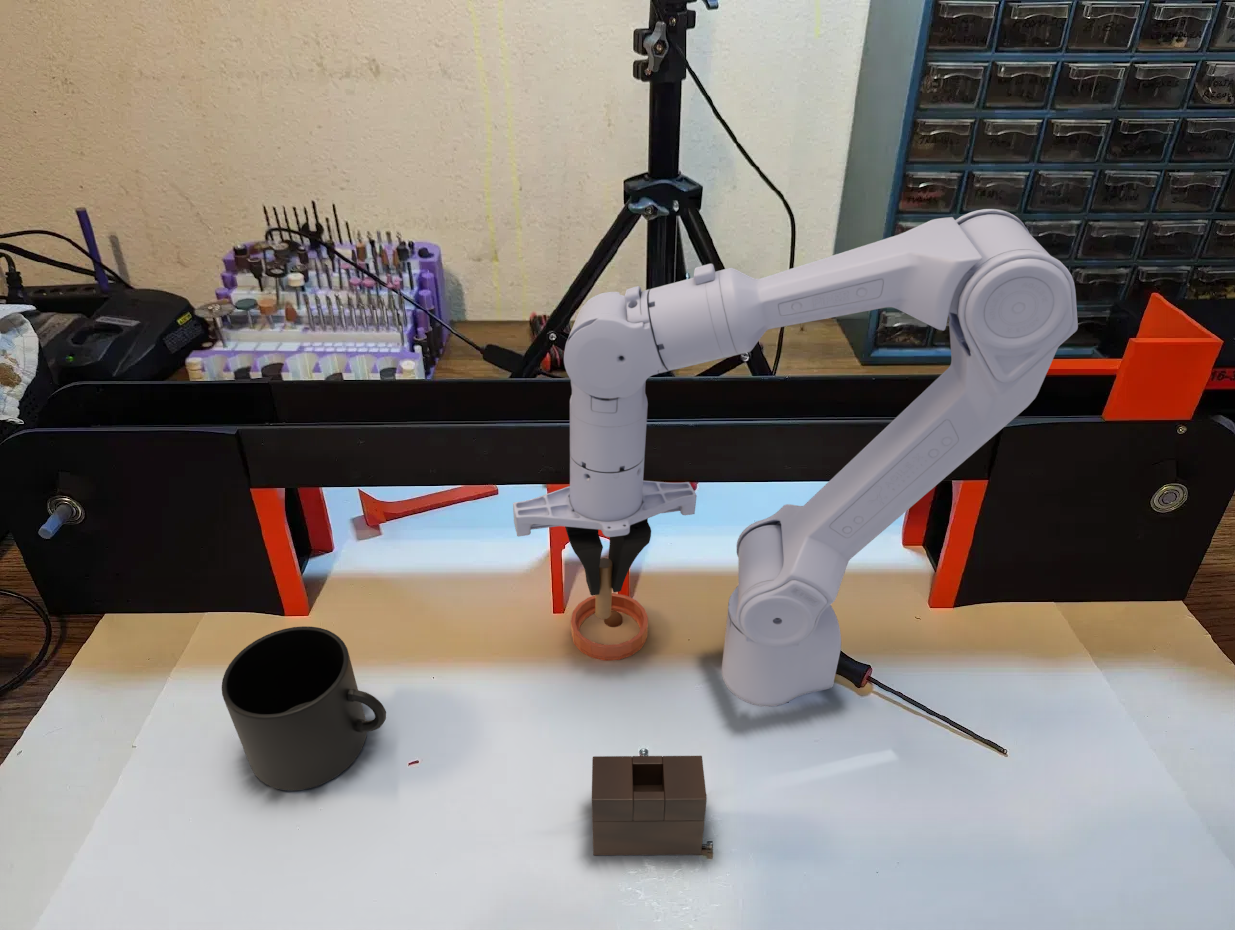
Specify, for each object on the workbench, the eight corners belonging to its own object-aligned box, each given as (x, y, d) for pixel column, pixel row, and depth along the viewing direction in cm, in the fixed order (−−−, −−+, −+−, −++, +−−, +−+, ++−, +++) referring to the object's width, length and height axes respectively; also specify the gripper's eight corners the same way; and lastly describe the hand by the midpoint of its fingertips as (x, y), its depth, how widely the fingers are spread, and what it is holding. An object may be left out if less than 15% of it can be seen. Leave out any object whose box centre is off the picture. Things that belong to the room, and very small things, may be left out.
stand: (696, 810, 63) (702, 755, 59) (701, 855, 60) (706, 799, 56) (594, 811, 63) (592, 756, 59) (593, 855, 60) (591, 800, 56)
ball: (614, 617, 80) (613, 604, 79) (626, 626, 79) (626, 613, 78) (600, 626, 79) (600, 613, 78) (613, 636, 78) (612, 622, 77)
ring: (635, 609, 81) (636, 587, 80) (656, 662, 75) (657, 639, 74) (565, 622, 80) (564, 599, 78) (581, 677, 74) (580, 654, 72)
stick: (610, 608, 71) (611, 557, 68) (612, 618, 70) (613, 567, 67) (594, 609, 71) (595, 558, 68) (596, 620, 70) (596, 568, 67)
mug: (374, 801, 63) (353, 726, 58) (228, 787, 64) (196, 712, 59) (412, 706, 71) (396, 632, 66) (281, 694, 72) (257, 621, 67)
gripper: (519, 493, 57) (525, 631, 64) (715, 470, 60) (698, 605, 67) (506, 440, 62) (513, 573, 70) (685, 422, 65) (673, 552, 73)
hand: (603, 585), depth 69 cm, fingers closed on stick, 1 cm apart
